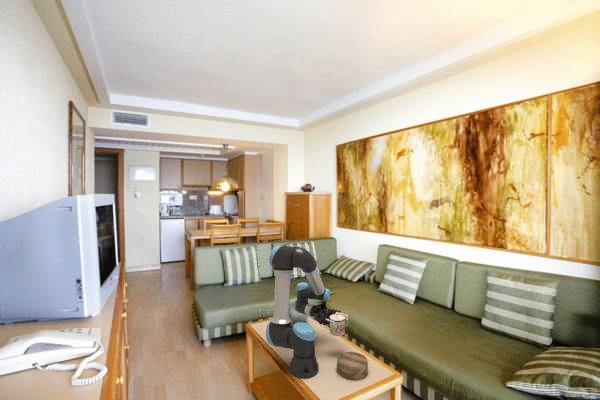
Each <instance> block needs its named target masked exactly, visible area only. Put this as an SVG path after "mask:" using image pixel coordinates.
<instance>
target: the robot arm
mask: <svg viewBox="0 0 600 400" xmlns="http://www.w3.org/2000/svg"><path fill="white" fill-rule="evenodd" d="M268 261H269V265H270V266H272V271H273V272H274V274H275V276H274V296H273V297H274V300H273V301H274V302H273V317H272V318H271V319H270V322H269V321H268V323H267V326H266V328H265V337H266V341H267V343H268V344H269V345H271V346H273V347H276V348H277V347H279V348H284V349H288V350H293V351H292V358H291V362H290V365H289V367H290V368H289V369H290V374H292V375H293V376H294V377H295V378H299V379H309V378H310V379H311V378H312V377H313V378H314V377H315V376H317V374H318V373H319V372H320V371H319V370H320V369H319V368H320V367H319V362H318V359H317V356H316V334H315V333H316V332H315V331H316V330H315V327H313V325H312V324H310V323H307V322H305V321H304V322H300V323H299V322H298V323H293V322H292V320H291V319H290V318H289V307H290V303H291V301H290V300H291V299H290V298H291V297H290V296H291V278H292V277H291V274H292V273H293V272H294V269H301V272H303V273H304V274H305V276H306V278H307V281H308V283H309V284H308V283H307V282H305V281H304V282H303V281H302V282H298V283H297V284H296V300H294V302H293V303H294V305H293V308H294V310H295V311H297V312H299V313H302V314H305V315H307V316H308V317H309V318H312V319H313V320H314V321H316V322H317V324H319V325H323V326H326V325H328V326H329V327H330V326H333V327H335V322H334V321H332V320H330V319H329V318H330V316H331V315H333V314H335V313H336V312H338V313H339V314H340V315H343V316H344V317H345V318H346V319H347V320H349V314H345V313H342V312H341V310H338V309H330V308H325V309H322V307H321V306H319V305H316V304H313V303H310V302H309V300H314V301H324V302H328V301H329V300H330V299H331V290H330V289H329V288H325V286H324V282H323V281H322V277H321V274H320V273H319V270H318V267H317V266H318V263H317V260H316V257H314V255H313V254H312V253H311V252H310V251H308V250H307V249H306V248H304V247H302V246H292V245H275V246H273V248H272V249H271V251H270V254H269V258H268ZM309 285H310V286H309ZM325 317H326V318H325ZM327 317H328V318H327ZM346 319H345V320H346ZM292 323H293V324H292Z"/></svg>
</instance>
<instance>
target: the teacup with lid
mask: <svg viewBox="0 0 600 400" xmlns="http://www.w3.org/2000/svg"><path fill="white" fill-rule="evenodd" d="M328 319H329V320H332V321H334V322H335V327H333V326H330V325H329V333H330V334H331V335H332V336H334V337H335V336H336V337H341V336H344V335H345V334H346V326H348V320H349V319H348V320H347V319H346V318H345V317H344V316H343V315H340V314H339V313H338V312H336V313H335V314H333V315H331V316H329V317H328Z"/></svg>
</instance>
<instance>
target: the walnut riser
mask: <svg viewBox="0 0 600 400" xmlns="http://www.w3.org/2000/svg"><path fill="white" fill-rule="evenodd" d="M336 372H337V373H338V375H339V376H340V377H341V378H343V379H345V380H349V381H360V380H364V379H365V378H367V376H368V374H369V361H368V358H367V357H366V356H365V355H364V354H362V353H358V352H357V351H356V352H355V351H345V352H342V353H339V355H338V356H337V358H336Z"/></svg>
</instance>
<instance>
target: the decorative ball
mask: <svg viewBox="0 0 600 400" xmlns="http://www.w3.org/2000/svg"><path fill="white" fill-rule="evenodd" d="M293 305H294V302H293V303H292V304H291V305H289V318H290V319H291V320H292V323H293V324H295V323H298V322H299V323H300V322H304V323H305V322H306V320H307V319H308V317H309V316H307V315H305V314H302V313H299V312H297V311H295V310H294V308H293Z"/></svg>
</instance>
